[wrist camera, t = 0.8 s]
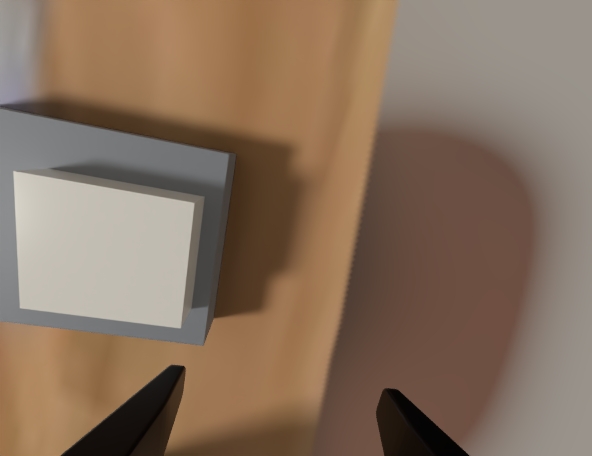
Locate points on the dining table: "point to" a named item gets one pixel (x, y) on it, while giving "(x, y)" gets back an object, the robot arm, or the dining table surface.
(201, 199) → the tile
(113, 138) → the plate
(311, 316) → the dining table surface
